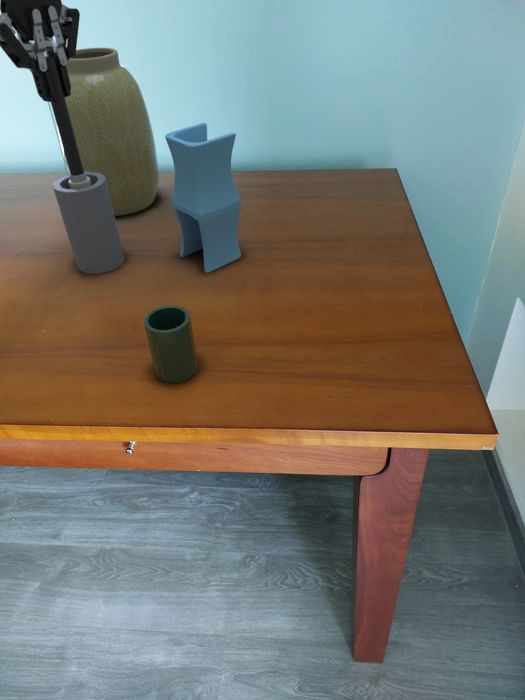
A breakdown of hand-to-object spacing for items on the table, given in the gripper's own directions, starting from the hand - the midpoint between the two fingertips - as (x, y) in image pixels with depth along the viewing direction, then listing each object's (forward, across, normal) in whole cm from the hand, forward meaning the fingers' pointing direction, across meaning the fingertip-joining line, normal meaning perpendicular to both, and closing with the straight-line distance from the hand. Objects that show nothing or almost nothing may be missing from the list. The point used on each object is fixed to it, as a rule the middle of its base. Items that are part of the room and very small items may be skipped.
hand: (56, 97), depth 72 cm
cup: (+26, 0, 0) cm, 26 cm away
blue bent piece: (+26, -10, +16) cm, 32 cm away
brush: (+18, 0, 0) cm, 18 cm away
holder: (+26, +16, +28) cm, 41 cm away
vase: (+26, -20, -13) cm, 35 cm away
